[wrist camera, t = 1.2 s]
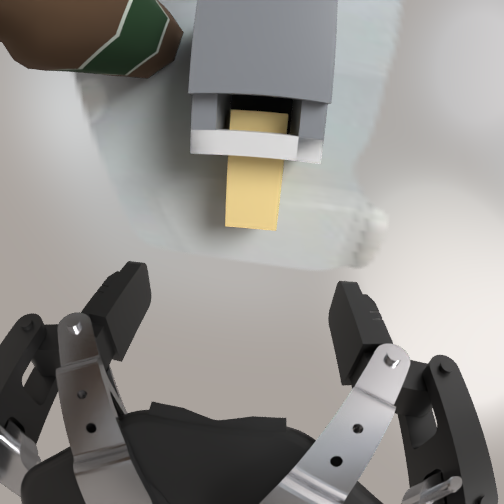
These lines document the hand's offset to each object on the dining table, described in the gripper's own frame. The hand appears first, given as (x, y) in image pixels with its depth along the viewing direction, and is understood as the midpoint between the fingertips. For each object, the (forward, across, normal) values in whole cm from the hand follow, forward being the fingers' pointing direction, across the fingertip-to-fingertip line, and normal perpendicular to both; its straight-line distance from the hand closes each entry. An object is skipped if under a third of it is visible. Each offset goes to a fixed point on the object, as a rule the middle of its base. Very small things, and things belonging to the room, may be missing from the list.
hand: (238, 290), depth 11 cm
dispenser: (+15, 0, -10) cm, 19 cm away
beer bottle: (+16, +11, -14) cm, 24 cm away
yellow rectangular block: (+15, 0, -3) cm, 16 cm away
